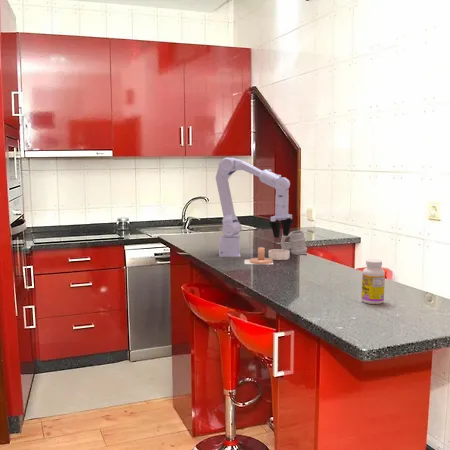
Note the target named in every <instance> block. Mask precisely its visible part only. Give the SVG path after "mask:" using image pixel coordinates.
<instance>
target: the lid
mask: <svg viewBox="0 0 450 450" xmlns="http://www.w3.org/2000/svg"><path fill="white" fill-rule="evenodd" d="M265 249H266V247H262V246H260V247H257V257H252V258H249V260H250V263H254V264H253V265H271V264H270V263H272V262H273V263H274V261H273V259H270V258H269V257H265V253H266V252H265Z"/></svg>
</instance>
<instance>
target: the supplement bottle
mask: <svg viewBox="0 0 450 450" xmlns="http://www.w3.org/2000/svg"><path fill="white" fill-rule="evenodd" d="M365 265H366V267H365V268H363V270H362V279H361V301H362V302H363V303H365V304H370V305H380V304H383V303H384V301H385V283H386V282H385V281H386V280H385V279H386V277H385V276H386V271H385V270H384V269H383V268H382V266H383V261H382V260H379V259H366V261H365Z"/></svg>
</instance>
